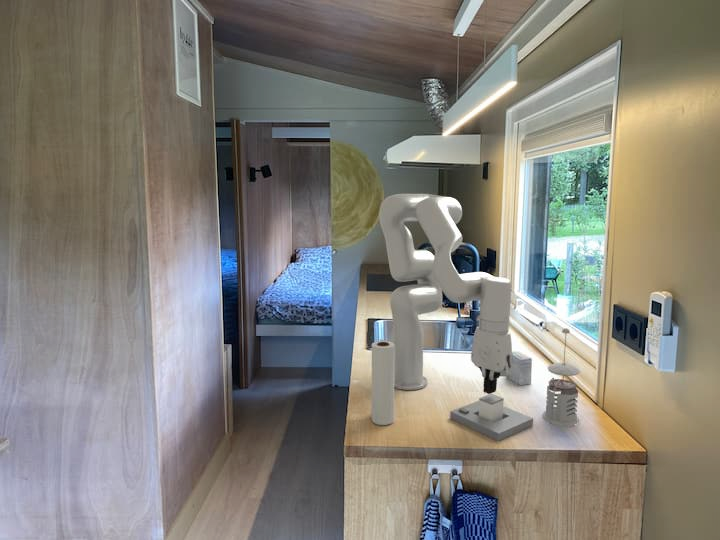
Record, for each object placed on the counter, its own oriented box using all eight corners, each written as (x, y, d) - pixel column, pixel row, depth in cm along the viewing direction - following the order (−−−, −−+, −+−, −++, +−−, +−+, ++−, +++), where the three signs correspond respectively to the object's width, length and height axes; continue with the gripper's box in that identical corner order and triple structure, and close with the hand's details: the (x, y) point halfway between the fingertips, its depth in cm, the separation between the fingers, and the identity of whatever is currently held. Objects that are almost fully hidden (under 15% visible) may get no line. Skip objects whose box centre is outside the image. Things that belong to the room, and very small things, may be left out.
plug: (478, 419, 134) (479, 398, 133) (490, 414, 137) (491, 393, 136) (490, 425, 131) (491, 403, 130) (502, 419, 134) (503, 398, 133)
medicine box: (531, 384, 160) (532, 358, 159) (519, 385, 159) (520, 359, 158) (517, 375, 168) (518, 350, 167) (505, 377, 167) (506, 351, 165)
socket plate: (450, 418, 136) (450, 409, 136) (484, 405, 145) (484, 396, 144) (498, 441, 124) (498, 431, 123) (532, 425, 132) (533, 416, 132)
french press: (586, 418, 136) (592, 328, 132) (567, 432, 128) (573, 337, 124) (551, 407, 143) (556, 321, 139) (531, 419, 135) (536, 329, 132)
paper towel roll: (388, 427, 131) (388, 348, 128) (367, 422, 134) (367, 345, 131) (399, 417, 137) (400, 341, 134) (379, 412, 140) (380, 338, 137)
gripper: (462, 320, 134) (458, 385, 137) (508, 334, 122) (503, 405, 125) (480, 316, 138) (477, 379, 142) (527, 329, 127) (522, 398, 130)
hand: (489, 391), depth 134 cm, fingers closed
